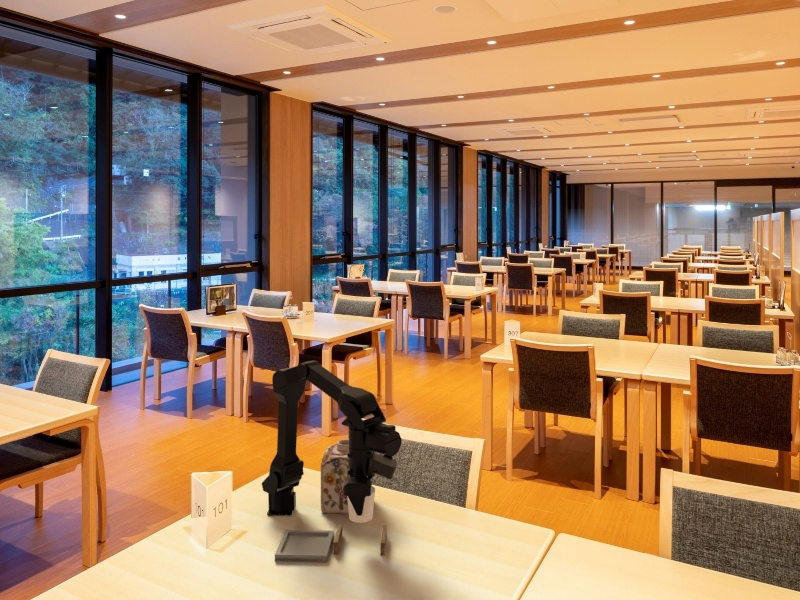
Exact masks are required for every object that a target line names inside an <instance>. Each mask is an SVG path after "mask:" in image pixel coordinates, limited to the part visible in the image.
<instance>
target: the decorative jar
mask: <svg viewBox="0 0 800 600" xmlns="http://www.w3.org/2000/svg"><path fill="white" fill-rule="evenodd" d="M348 450H349V440H348V439H339V440H338V441H337V443H334V444H331V445H328V446H327V447H326V448H325V449H324V452H323V454H322V455H323V456H322V458H321V462H320V510H321V511H320V512H321V513H323V514H340V515H341V514H342V515H349V510H348V500H347V496H345V495H343V487H344V483H345V481H346V480H347V479H348V478H349V477H350V475H348V467H349V458H348V455H347V454H348Z"/></svg>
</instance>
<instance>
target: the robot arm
mask: <svg viewBox="0 0 800 600" xmlns="http://www.w3.org/2000/svg"><path fill="white" fill-rule="evenodd" d="M271 379H272V381H271V382H272V392H273V394H274V396H275V397H276V399H277V401H278V411H277V412H278V415H277V416H278V417H277V419H278V420H277V438H276V439H277V443H276V454H275V456H274V458H273V460H272V461H271V462H270V465H269V473H268V475H267V477H266V478H265V479H264V480H263V481H262V482H261V487H262V491H263V492H265V493H267V494H268V497H267V498H268V510H267V512H266V515H267V516H292V514H293V513H294V511H295V510H296V508H297V492H296V491H294V490H295V487H298V486H299V485H300V481H301V480H302V478H303V476H304V474H305V473H304V465H305V463H304V461H303V460H301V459H300V457H299V456H298V454H297V439H298V438H297V437H298V436H297V435H298V414H299V412H298V411H299V401H300V400H301V398H302V396H303V394H304V392H305V389H306V384H307V382H309V383H310V384H311V385H313V386H315V387H316V388H317V389H319V390H320V391H321V392H323V393H324V394H326V395H327V396H328V397H329V398H331V399H332V400H334V402H336V403H337V405H338V409H339V411H340V412H341V413H342V415H344V416H345V417H346V418H345V419H344V420H343V421H342V422H341V425H342V426H344V427H347V428H348V429H347V430H348V434H347V435H348V440H349V450H348V454H347V455H348V458H349V467H348V475H350V477H349V478H348V479H347V480H346V481H345V483H344V487H343V495H345V496H348V498H349V500H350V502H351V504H352V506H353V508H354V510H355V512H356V514H357V515H358V516H361V515H362V512H363V507H364V502H365V497H366V496H371V492H372V486H373V481H372V479H373V478H374V477H375V475H376V474H377V475H378V476H381V477H384V478H386V479H388V480H392V479H393V477H394V475H395V471H396V469H397V467H398V465H397V464H398V461H397V460H396V458H394V456H396V455H397V454H398V453H399V452H400V449H401V447H402V437H401V434H400V433H399V432H398V431H396V430H397V428H396V425H394V424H387V423H386V421H387V418H386V417H385V415H384V412H383V411H382V409H381V406H380V405H379V403H378V401H377V398H376V396H375V395H374V393H372V392H370V391H368V390H366V389H363V388H361V387H355V386H352V385H349V384H348V383H346V381H344V380H342V379H341V378H340V377H338V376H337V375H335V374H334V373H332V372H331V371H329V370H328V369H326V368H325V367H323V365H321V363H320V362H319V360H318V361H317V360H310V361H309V360H307V361H305V362H301V363H300V364H298V365H295V366H291V367H287V368H283V369H278V370H276V371H275V372H274V373H273V375H272V378H271ZM371 416H372V417H371ZM364 418H366V419H364ZM377 453H378V454H377Z"/></svg>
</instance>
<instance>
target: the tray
mask: <svg viewBox="0 0 800 600" xmlns="http://www.w3.org/2000/svg"><path fill="white" fill-rule="evenodd" d="M334 538H335V531H334V530H321V529H319V530H317V529H316V530H315V529H314V530H313V529H312V530H311V529H310V530H309V529H285V530H284V532H283V535H282V537H281V539H280V541H279V543H278V546H277V548H276V551H275V553H274V562H294V563H295V562H300V563H301V562H304V563H308V562H309V563H328V560H329V556H330V553H331V549H332V546H333V542H334Z"/></svg>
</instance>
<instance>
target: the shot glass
mask: <svg viewBox="0 0 800 600" xmlns="http://www.w3.org/2000/svg"><path fill="white" fill-rule="evenodd" d="M375 495H376V488H375V487H374V486H373V485H372V492H371V496H366V497H365V502H364V507H363V512H362V515H361V516H358V515H357V514H356V512H355V510H354V508H353V506H352V504H351V502H350V500H349V498H348V496H347V500H348V510H349V514H348V518H349V520H350V521H352V522H354V523H359V524H361V523H368V522H370V521H372V520H373V517H374V508H375V507H374V505H375V497H376V496H375Z"/></svg>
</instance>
